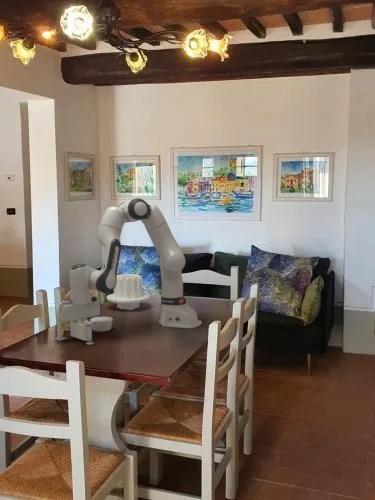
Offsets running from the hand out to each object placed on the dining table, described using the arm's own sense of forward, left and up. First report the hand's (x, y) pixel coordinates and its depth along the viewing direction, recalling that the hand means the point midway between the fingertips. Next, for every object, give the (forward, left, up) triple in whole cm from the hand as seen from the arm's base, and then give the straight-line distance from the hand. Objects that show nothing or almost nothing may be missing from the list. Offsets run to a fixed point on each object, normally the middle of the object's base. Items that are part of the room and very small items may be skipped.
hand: (80, 327), depth 257 cm
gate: (-4, +4, -4) cm, 7 cm away
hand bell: (+16, -22, -5) cm, 27 cm away
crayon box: (+14, -8, -5) cm, 17 cm away
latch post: (+7, +6, -5) cm, 11 cm away
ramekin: (0, -17, -5) cm, 18 cm away
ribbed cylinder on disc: (+14, -64, -5) cm, 65 cm away
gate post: (-10, +6, -5) cm, 13 cm away
